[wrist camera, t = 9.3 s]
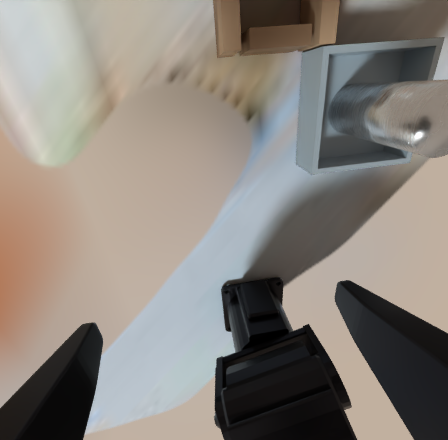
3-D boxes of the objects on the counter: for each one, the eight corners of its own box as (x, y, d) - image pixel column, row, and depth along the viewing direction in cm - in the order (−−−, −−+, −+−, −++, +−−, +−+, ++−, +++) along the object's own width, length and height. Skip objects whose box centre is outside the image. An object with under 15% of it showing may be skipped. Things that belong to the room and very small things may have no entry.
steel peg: (367, 131, 20) (467, 153, 13) (325, 135, 20) (405, 161, 13) (376, 81, 18) (497, 75, 11) (331, 85, 18) (426, 82, 11)
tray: (382, 153, 22) (409, 162, 19) (295, 164, 21) (311, 174, 18) (406, 44, 18) (444, 37, 15) (302, 52, 17) (323, 46, 15)
